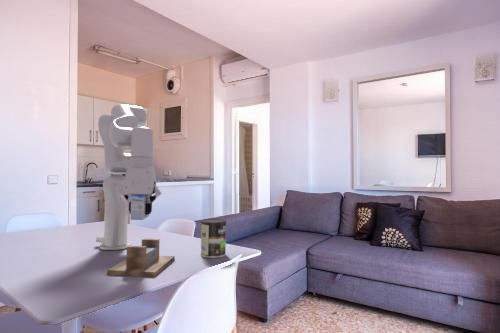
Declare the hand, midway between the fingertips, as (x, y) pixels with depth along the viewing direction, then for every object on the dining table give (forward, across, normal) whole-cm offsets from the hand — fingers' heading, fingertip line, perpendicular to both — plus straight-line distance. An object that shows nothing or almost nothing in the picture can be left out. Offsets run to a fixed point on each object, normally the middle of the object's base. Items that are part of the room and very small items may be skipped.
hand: (140, 213), depth 114 cm
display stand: (+19, +1, +1) cm, 19 cm away
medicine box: (+2, 0, 0) cm, 2 cm away
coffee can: (+19, +22, +22) cm, 36 cm away
